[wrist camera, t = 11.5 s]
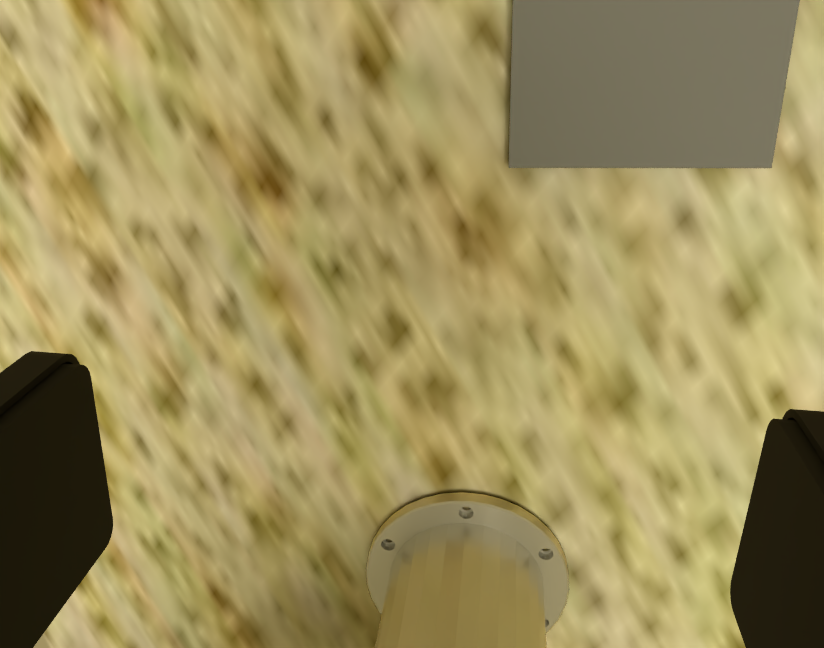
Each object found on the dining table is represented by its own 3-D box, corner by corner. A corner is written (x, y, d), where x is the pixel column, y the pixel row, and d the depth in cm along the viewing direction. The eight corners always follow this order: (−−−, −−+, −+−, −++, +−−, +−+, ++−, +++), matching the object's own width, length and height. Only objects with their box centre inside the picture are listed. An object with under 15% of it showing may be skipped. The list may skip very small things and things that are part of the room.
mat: (765, 163, 37) (771, 168, 36) (508, 162, 38) (508, 167, 37) (813, -130, 32) (822, -133, 31) (515, -118, 33) (516, -120, 32)
